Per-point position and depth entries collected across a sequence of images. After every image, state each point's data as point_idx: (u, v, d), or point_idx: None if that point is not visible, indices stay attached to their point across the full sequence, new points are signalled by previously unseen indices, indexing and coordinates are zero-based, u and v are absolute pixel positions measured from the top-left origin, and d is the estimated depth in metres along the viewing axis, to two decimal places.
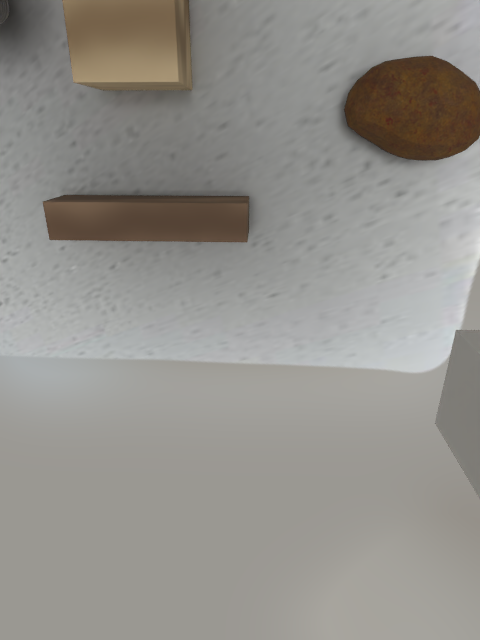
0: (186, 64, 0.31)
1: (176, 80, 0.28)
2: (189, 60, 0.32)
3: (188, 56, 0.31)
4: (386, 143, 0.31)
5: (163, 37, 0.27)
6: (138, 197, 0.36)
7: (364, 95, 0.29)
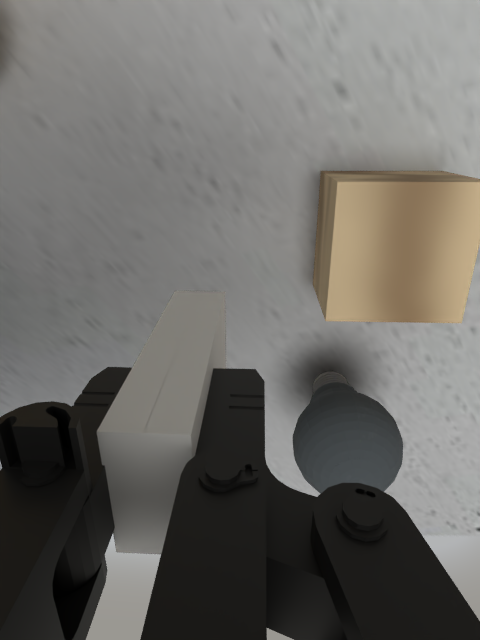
0: (432, 174, 0.23)
1: None
2: (414, 172, 0.24)
3: (412, 172, 0.24)
4: None
5: (434, 201, 0.20)
6: None
7: None
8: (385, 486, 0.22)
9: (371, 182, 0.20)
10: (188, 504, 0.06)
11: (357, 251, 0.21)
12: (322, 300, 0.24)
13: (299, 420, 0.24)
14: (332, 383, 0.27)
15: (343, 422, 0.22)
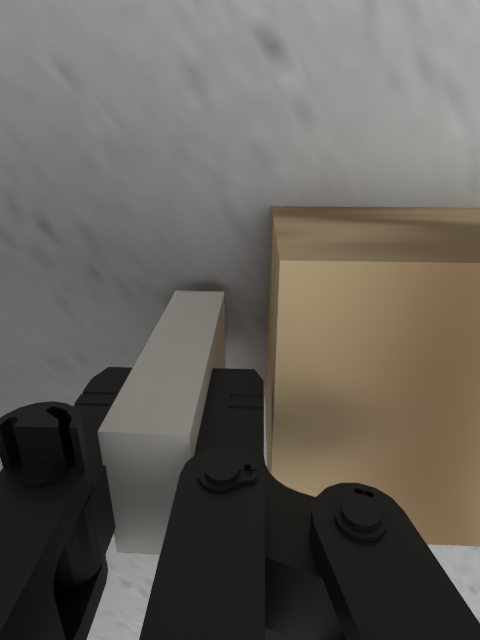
0: None
1: None
2: (454, 213, 0.12)
3: (452, 215, 0.12)
4: None
5: None
6: None
7: None
8: None
9: (367, 262, 0.08)
10: (186, 504, 0.06)
11: (332, 411, 0.09)
12: None
13: None
14: None
15: None
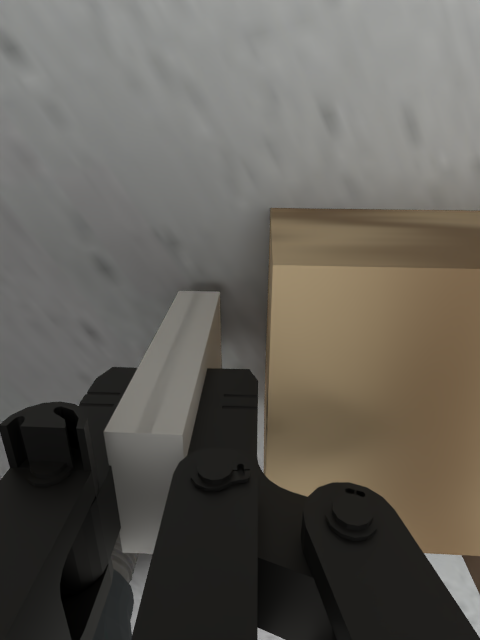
0: None
1: None
2: (456, 215, 0.12)
3: (453, 218, 0.12)
4: None
5: None
6: None
7: None
8: None
9: (362, 267, 0.07)
10: (180, 504, 0.06)
11: (327, 418, 0.09)
12: None
13: None
14: None
15: None
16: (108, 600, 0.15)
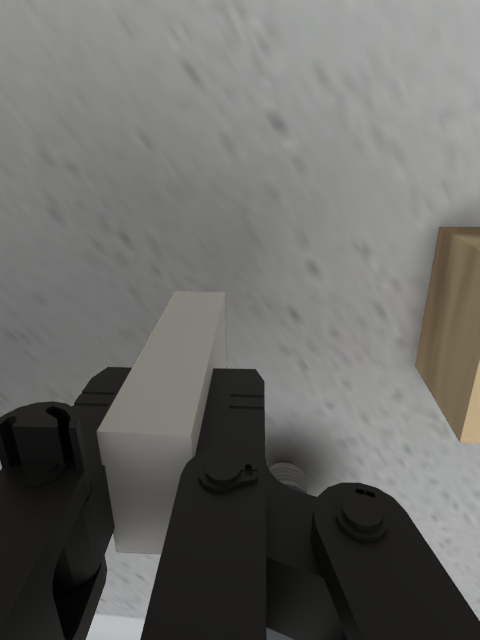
0: None
1: None
2: None
3: None
4: None
5: None
6: None
7: None
8: None
9: None
10: (188, 504, 0.06)
11: None
12: (448, 406, 0.17)
13: None
14: None
15: None
16: None
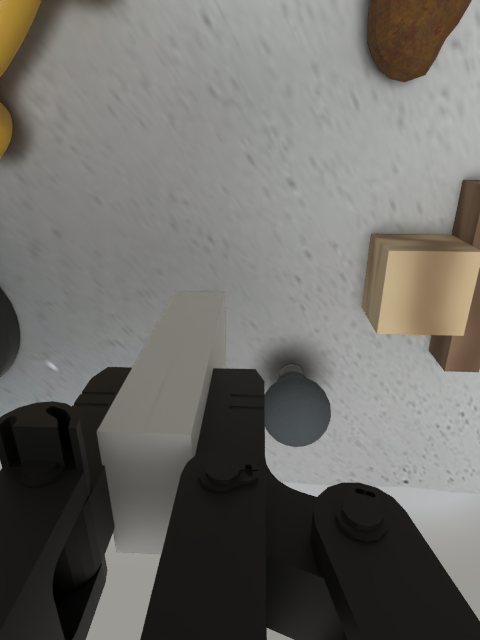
0: (445, 240, 0.35)
1: None
2: (433, 236, 0.37)
3: (432, 237, 0.36)
4: (453, 28, 0.28)
5: (447, 262, 0.33)
6: None
7: (404, 63, 0.29)
8: (317, 435, 0.35)
9: (409, 251, 0.32)
10: (188, 504, 0.06)
11: (398, 291, 0.34)
12: (373, 320, 0.36)
13: (265, 395, 0.37)
14: (290, 372, 0.40)
15: (290, 394, 0.35)
16: None
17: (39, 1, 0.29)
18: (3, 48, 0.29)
